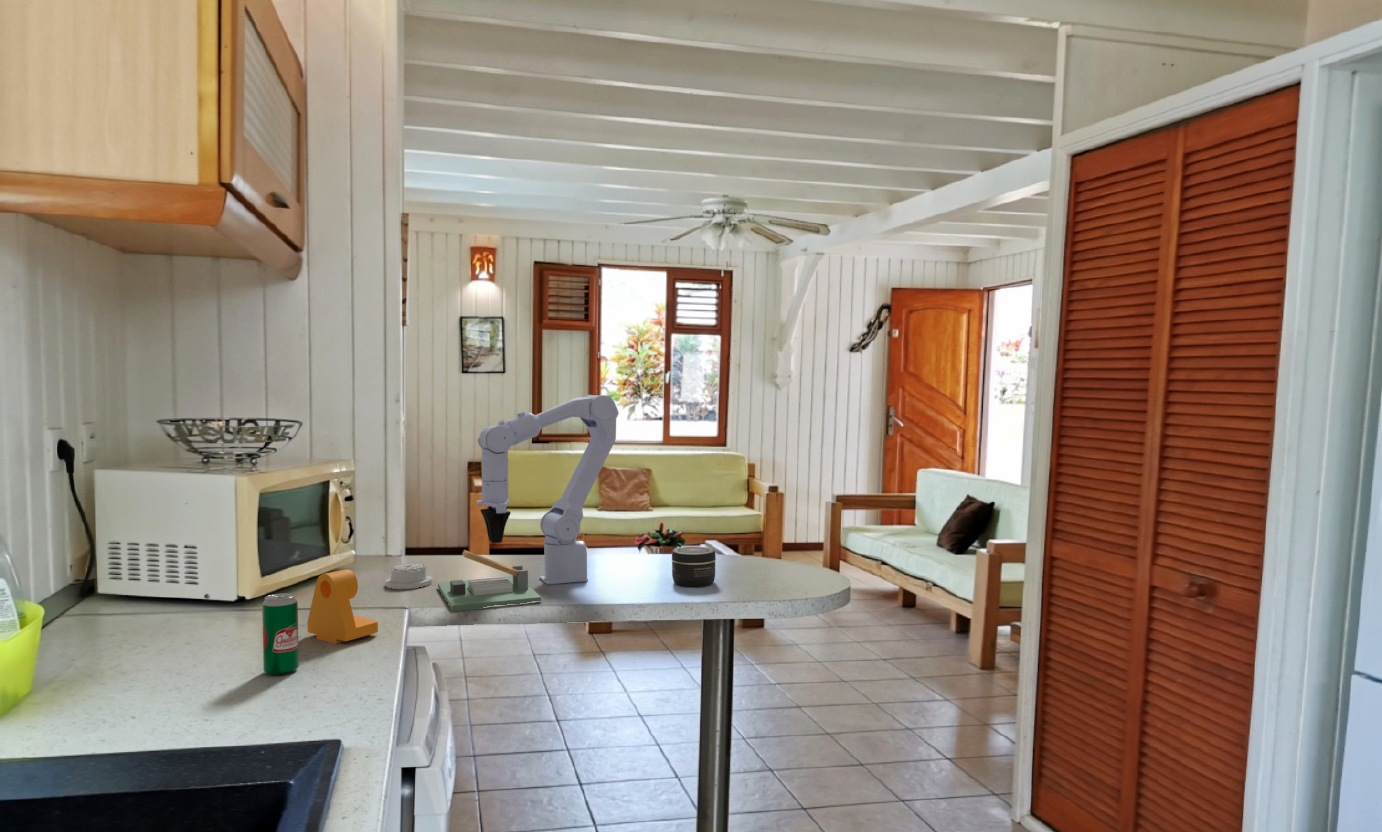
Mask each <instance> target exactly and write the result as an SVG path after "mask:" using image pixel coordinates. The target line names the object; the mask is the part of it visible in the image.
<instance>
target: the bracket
mask: <svg viewBox="0 0 1382 832" xmlns="http://www.w3.org/2000/svg"><path fill="white" fill-rule="evenodd" d="M315 583H316V584H315V586H314V587H315V588H314V591H313V596H312V599H311V605H310V610H309V614H308V617H307V618H308V619H307V621H306V622H307V624H306V625H307V633H310V634H314V635H316V640H320V641H325V642H328V643H333V644H339V643H342V642H349V641H353V640H355V639H360V638H362V637H366V636H369V635H372V634H377V633H379V621H378V620H376V619H371V618H367V617H362V616H361V617H360V616H356V615H354V614H353V609H352V606H351V602H350V600H352V599H354V598H355V596H357V593H358V591H359V590H358V588H359V586H358V585H359V584H358V579H357V577H356V575H355V573H354V571H353V570H351V569H348V568H347V569H342V570H337V571H331V572H326V573H322V574H320V575H319V576H318V578H317V579H316V582H315Z"/></svg>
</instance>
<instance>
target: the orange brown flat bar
mask: <svg viewBox="0 0 1382 832" xmlns="http://www.w3.org/2000/svg"><path fill="white" fill-rule="evenodd" d="M462 555H463V557H464V558H465V559H467V560H468V559H469V560H472V561H474V562H477V563H479V564H482V565H485V566H487V567H491V568H492V569H495V570H498V571H501V572H504V573H506V574H509V575H511V576H513V575H514V576H516V577H518V570H516V569H514V568H513V567H510V566H508V565H506V564H504V563H503V564H502V563H500V562H497V561H495V560H492V559H489V558H487V557H485V556H482V555H479V554H476V553H474V552H472V551H468V550H466V549H464V550H463V552H462Z"/></svg>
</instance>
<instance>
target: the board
mask: <svg viewBox="0 0 1382 832" xmlns="http://www.w3.org/2000/svg"><path fill="white" fill-rule="evenodd" d="M512 568H514V569H516V570H518V577H516V576H514V575H511V576H504V575H503V576H493V577H481V578H470V579H467V580H463V579H457V580H450V581H446V582H437V589H438V588H439V589H438V591H439V590H440V591H439V592H441V593H442V594H441V593H440V594H441V596H442V595H443V596H444V598H445V599H446V601H447V602H448V604H449V606H450V608H449V609H450V611H451V612H452V613H453V612H464V611H472V610H473V611H474V610H481V608H483V607H487V606H494V605H507V604H520V603H527V602H532V601H541V602H542V596H540V594H539V593H537V592H536V591H535V590H534V589H533V588H532V587H531V586H530V585H529V571H528V569H523V565H522V564H517V565H512ZM443 596H442V597H443ZM444 598H443V599H444ZM445 599H444V600H445ZM446 601H445V602H446ZM448 604H447V605H448ZM449 606H448V607H449Z"/></svg>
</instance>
